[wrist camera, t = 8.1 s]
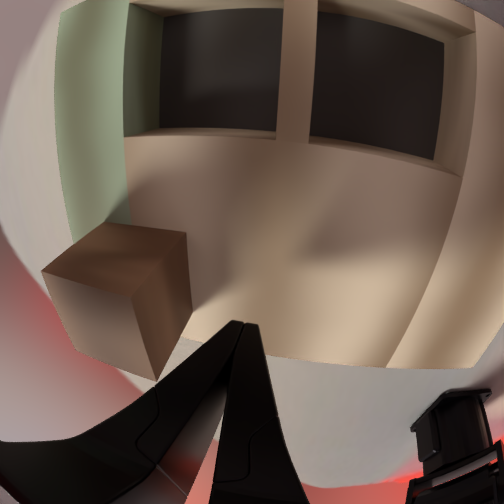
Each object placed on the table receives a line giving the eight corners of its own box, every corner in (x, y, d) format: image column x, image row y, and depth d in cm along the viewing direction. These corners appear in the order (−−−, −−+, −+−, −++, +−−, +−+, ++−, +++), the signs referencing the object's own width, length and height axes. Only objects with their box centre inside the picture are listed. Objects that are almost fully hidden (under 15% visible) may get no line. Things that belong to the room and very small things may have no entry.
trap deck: (532, 76, 6) (569, 79, 3) (458, 332, 14) (472, 367, 11) (100, 19, 9) (61, 12, 6) (120, 283, 17) (95, 312, 14)
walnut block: (186, 232, 10) (130, 297, 7) (193, 312, 12) (156, 381, 9) (103, 221, 11) (40, 270, 8) (120, 295, 13) (75, 350, 10)
